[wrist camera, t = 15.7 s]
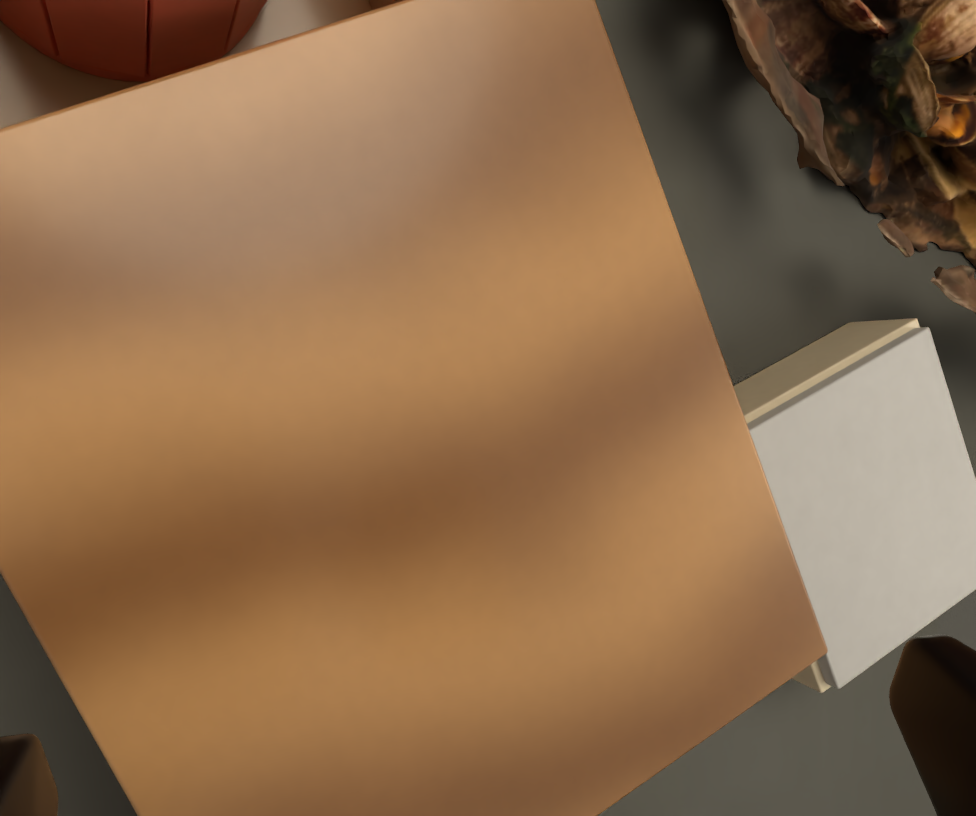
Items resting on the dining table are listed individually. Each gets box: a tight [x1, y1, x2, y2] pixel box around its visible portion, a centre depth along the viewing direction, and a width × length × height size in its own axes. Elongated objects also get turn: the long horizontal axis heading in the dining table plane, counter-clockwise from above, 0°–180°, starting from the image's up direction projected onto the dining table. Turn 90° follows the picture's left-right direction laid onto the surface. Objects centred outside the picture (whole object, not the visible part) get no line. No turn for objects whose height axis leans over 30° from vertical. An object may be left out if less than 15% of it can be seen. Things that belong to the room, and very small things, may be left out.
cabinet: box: [0, 0, 828, 816], centre depth 18 cm, size 14×12×7 cm
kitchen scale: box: [733, 318, 976, 693], centre depth 25 cm, size 7×8×3 cm
